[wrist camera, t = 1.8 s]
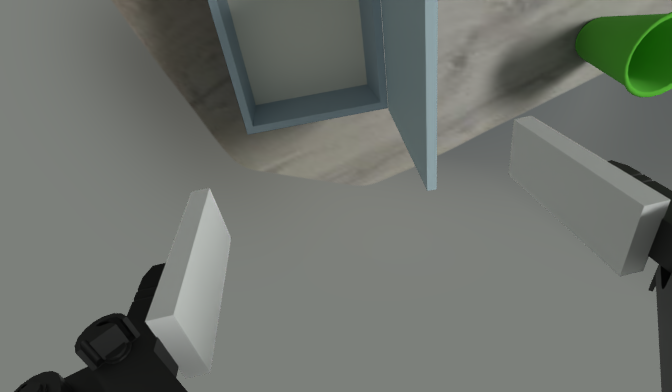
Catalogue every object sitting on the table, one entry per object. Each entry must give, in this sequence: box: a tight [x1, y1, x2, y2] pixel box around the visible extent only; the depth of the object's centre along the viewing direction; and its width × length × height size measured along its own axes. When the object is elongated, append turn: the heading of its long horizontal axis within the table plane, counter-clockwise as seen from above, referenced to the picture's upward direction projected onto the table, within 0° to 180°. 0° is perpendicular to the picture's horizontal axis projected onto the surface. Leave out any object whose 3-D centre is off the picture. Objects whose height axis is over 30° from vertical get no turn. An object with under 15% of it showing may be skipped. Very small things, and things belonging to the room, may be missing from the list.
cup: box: [575, 12, 672, 97], centre depth 45 cm, size 9×9×11 cm
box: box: [208, 0, 388, 135], centre depth 40 cm, size 18×16×8 cm
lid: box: [381, 0, 438, 190], centre depth 30 cm, size 18×17×1 cm
